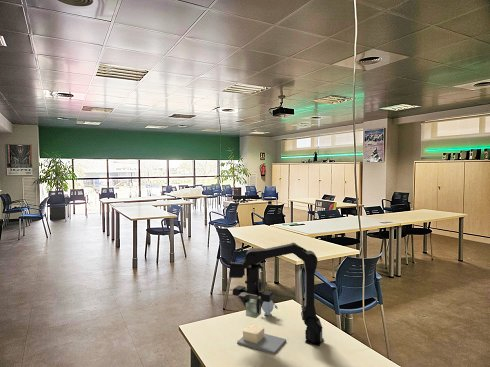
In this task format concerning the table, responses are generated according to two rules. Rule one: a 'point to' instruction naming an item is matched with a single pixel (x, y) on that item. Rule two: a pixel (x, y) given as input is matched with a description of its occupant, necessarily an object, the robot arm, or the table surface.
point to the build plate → (260, 340)
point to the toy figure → (268, 307)
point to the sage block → (252, 308)
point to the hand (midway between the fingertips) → (253, 312)
